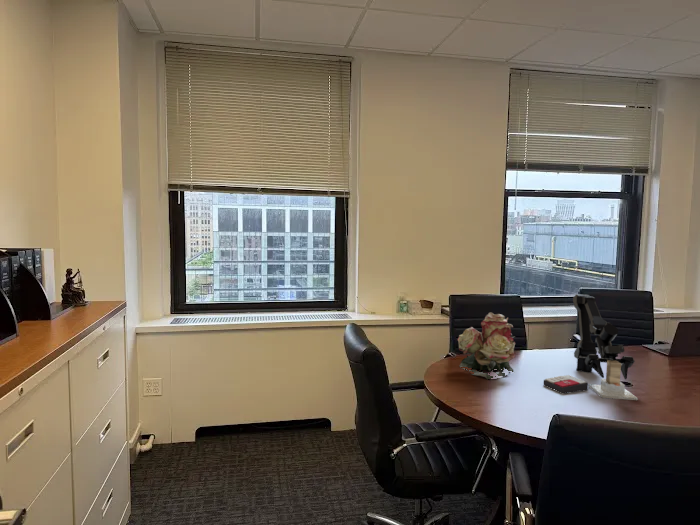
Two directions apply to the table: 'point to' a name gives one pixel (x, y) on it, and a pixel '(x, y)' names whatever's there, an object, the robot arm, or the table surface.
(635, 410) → the table surface
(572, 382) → the calculator
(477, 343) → the rose bouquet
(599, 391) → the sleeve stand
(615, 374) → the column
